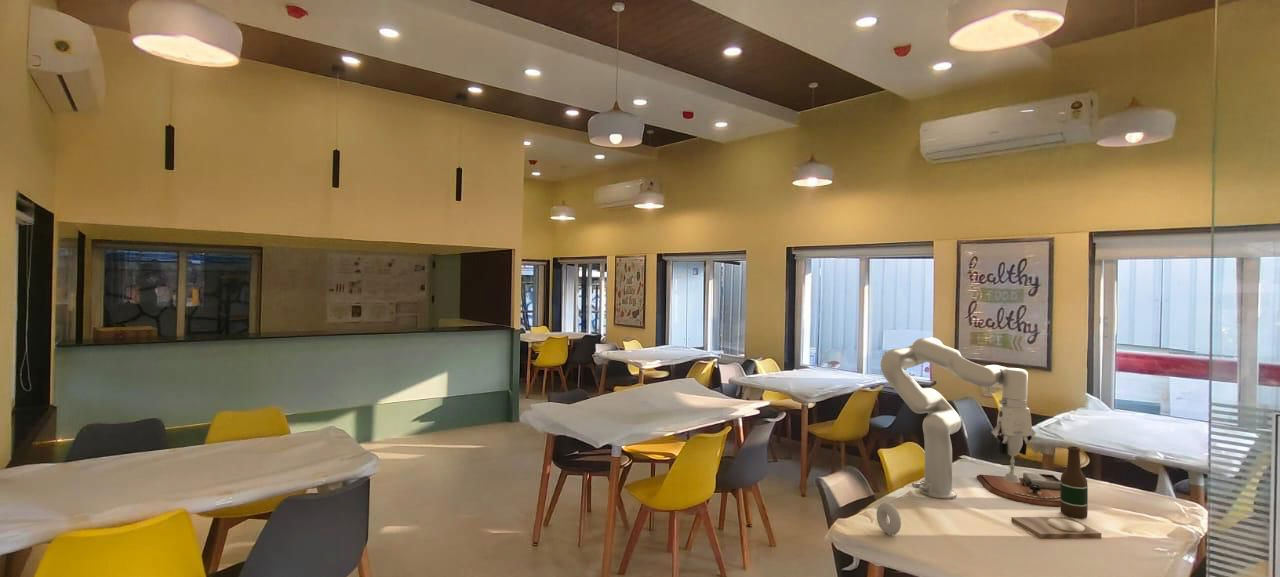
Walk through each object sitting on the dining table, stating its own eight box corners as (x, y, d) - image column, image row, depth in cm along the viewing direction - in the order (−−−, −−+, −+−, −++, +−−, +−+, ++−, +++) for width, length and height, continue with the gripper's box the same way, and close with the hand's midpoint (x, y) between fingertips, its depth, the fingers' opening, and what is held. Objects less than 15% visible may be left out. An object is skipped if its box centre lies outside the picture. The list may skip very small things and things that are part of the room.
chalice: (1003, 475, 215) (1005, 426, 214) (1025, 480, 210) (1027, 430, 209) (998, 479, 210) (999, 429, 209) (1020, 485, 205) (1021, 433, 204)
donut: (903, 539, 187) (903, 508, 187) (894, 541, 186) (894, 509, 186) (883, 527, 196) (883, 497, 196) (874, 528, 195) (874, 498, 195)
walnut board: (1040, 538, 188) (1040, 532, 188) (1011, 521, 202) (1011, 515, 202) (1101, 538, 188) (1101, 531, 188) (1068, 520, 202) (1068, 514, 202)
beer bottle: (1058, 515, 207) (1058, 447, 208) (1062, 509, 213) (1062, 443, 213) (1086, 521, 202) (1086, 451, 202) (1088, 515, 208) (1089, 447, 208)
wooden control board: (1061, 473, 241) (1094, 498, 212) (1061, 486, 240) (1094, 512, 212) (976, 466, 250) (996, 489, 221) (976, 478, 250) (996, 503, 221)
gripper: (997, 405, 205) (995, 456, 205) (1045, 405, 206) (1043, 457, 206) (984, 400, 213) (982, 450, 213) (1030, 401, 213) (1028, 450, 214)
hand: (1012, 453), depth 209 cm, fingers closed on chalice, 6 cm apart
